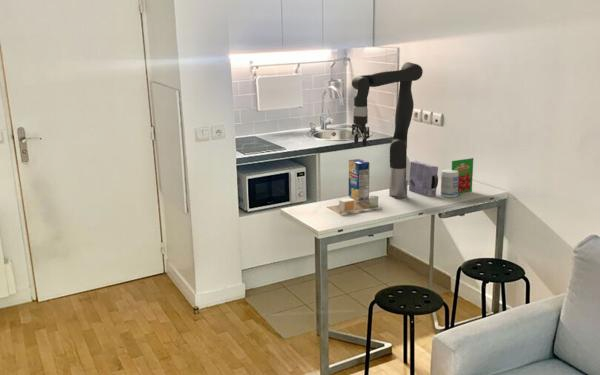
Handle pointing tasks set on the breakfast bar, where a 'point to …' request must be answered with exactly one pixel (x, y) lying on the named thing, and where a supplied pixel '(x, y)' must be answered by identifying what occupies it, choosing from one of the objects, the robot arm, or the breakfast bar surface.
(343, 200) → the cream block
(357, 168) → the beverage box
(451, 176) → the supplement tub
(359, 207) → the board
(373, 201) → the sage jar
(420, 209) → the breakfast bar surface
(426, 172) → the cake pan box
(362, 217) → the breakfast bar surface
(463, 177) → the tomato puree packet
